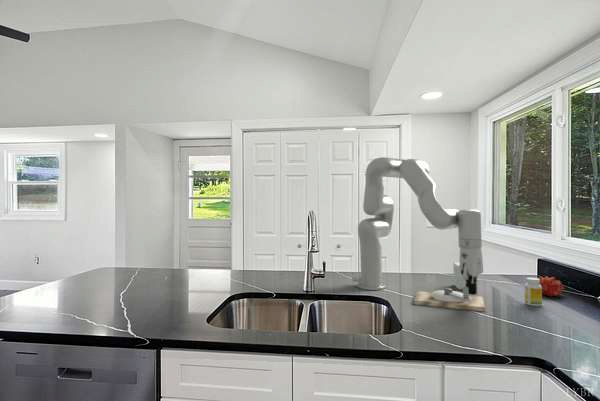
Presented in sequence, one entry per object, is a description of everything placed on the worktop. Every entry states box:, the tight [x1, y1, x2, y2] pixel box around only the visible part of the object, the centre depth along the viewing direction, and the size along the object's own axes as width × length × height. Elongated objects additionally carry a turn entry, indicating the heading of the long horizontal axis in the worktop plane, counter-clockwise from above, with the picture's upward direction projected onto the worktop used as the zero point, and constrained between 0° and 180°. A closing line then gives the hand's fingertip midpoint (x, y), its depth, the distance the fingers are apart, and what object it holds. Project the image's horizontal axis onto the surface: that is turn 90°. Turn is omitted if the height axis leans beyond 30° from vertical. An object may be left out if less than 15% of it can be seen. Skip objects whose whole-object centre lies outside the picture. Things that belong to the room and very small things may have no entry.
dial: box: [431, 286, 470, 303], centre depth 132 cm, size 16×12×6 cm
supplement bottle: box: [524, 277, 543, 307], centre depth 130 cm, size 5×5×10 cm
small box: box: [452, 262, 466, 290], centre depth 156 cm, size 8×6×10 cm
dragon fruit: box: [537, 275, 565, 297], centre depth 141 cm, size 8×8×12 cm
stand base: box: [413, 290, 486, 312], centre depth 134 cm, size 24×14×2 cm, turn 65°
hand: (471, 293), depth 126 cm, fingers closed
